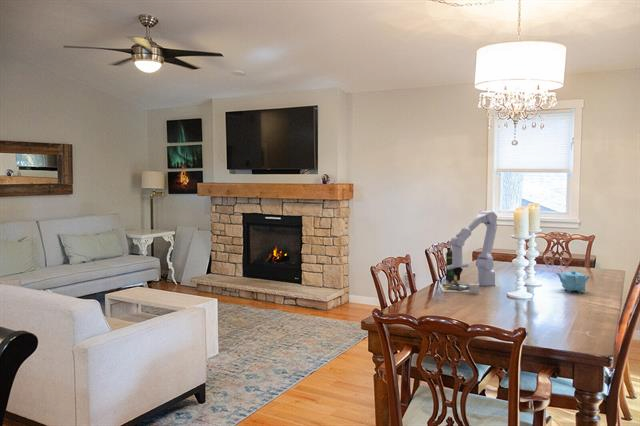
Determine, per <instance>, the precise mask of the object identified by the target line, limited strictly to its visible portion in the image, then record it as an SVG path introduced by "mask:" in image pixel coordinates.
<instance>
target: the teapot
mask: <svg viewBox="0 0 640 426" xmlns="http://www.w3.org/2000/svg"><path fill="white" fill-rule="evenodd" d="M555 274H556V275H557V276H558V278H559V281H560V282H561V286H562V288H564V291H566V292H567V293H572V292H574V291H575V292H577V293H578V294H579V293H580V294H581V293H583V292H585V291H586V283H587V281H588V280H589V279H590V277H591V276H589V275H584V273H581V272H580V271H579V272H577V271H576V270H571V271H570V272H569V271H565V272H564V271H562V273H559V272H555Z"/></svg>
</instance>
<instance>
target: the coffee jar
mask: <svg viewBox="0 0 640 426" xmlns="http://www.w3.org/2000/svg"><path fill="white" fill-rule="evenodd" d="M445 259H446V261H445V265H446V266H448V265H452V250H449V251H447V252H445ZM446 266H445V267H446ZM454 275H455V273H454V271H453V269H445V279H446V280H447V281H450V282H451V281H452V282H453V281H454Z"/></svg>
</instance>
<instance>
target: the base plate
mask: <svg viewBox="0 0 640 426" xmlns="http://www.w3.org/2000/svg"><path fill="white" fill-rule="evenodd" d="M438 288H439V289H440V290H441V291H442V293H469V289H465V290H463V291H459V290H454V289H445V287H444V286H442V284H438Z"/></svg>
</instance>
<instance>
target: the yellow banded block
mask: <svg viewBox="0 0 640 426" xmlns="http://www.w3.org/2000/svg"><path fill="white" fill-rule="evenodd" d="M468 284H469V292H468V294H469V295H479V294H480V286H479V284H477V283H468Z"/></svg>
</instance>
